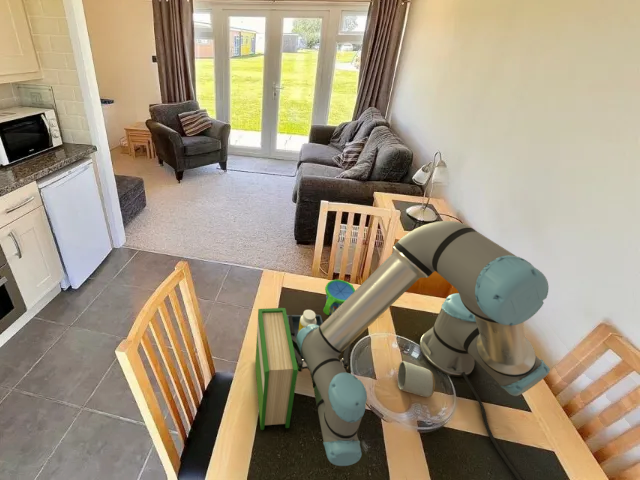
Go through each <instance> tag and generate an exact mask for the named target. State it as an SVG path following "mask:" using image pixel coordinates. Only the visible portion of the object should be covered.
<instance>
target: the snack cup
mask: <svg viewBox="0 0 640 480" xmlns="http://www.w3.org/2000/svg"><path fill="white" fill-rule="evenodd" d="M324 290H325V294H326V296H325V298H326V299H325V301H326V302H325V305H324V307H323V309H322V312H323V313H324V314H325V315H326V316H331V315H332V314H333V313H334V312H335V311H336V310H337V309H338V308H339V307H340V306H341V305H342V304H343V303H344V302H345V301H346V300H347V299H348V298H349V297H350V296H351V295H352V294H353V293H354V292H355V290H356V289H355V287H354V285H353V284H352V283H350V282H348V281H345V280H342V279H332V280H330V281H328V282H327V283H326V286H325V287H324Z"/></svg>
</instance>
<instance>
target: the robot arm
mask: <svg viewBox="0 0 640 480" xmlns="http://www.w3.org/2000/svg"><path fill="white" fill-rule="evenodd" d="M391 247H392V253H391V254H390V255H389V256H388V257H387V258H386V259H385V260H384V261H383V262H382V263H380V265H379V266H378V267H377V268H376V269H375V270H374V271H373V272H372V273H371V274H370V275H369V276H368V277H367V278H366V279H365V281H364V282H362V283H361V284H360V285H359V286H358V287H357V288H356V289H355V292H354V293H353V294H352V295H351V296H350V297H349V298H348V299H347V300H346V301H345V302H344V303H343V304H342V305H341V306H340V307H339V308H338V309H337V310H336V311H335V312H334V313H333V314H332V315H331V314H330V315H329V316H328V317H327V318H326V319H325V320H324V321H323V324H322V325H320V326H318V325H316V324H311V325H307V327H305V328H302V329H301V330H300V331H299V332H298V334H297V337H296V338H295V337H294V336H295V332H294V326H293V320H292V315H293V314H288V315H289V328H290V333H291V338H292V343H293V348H294V353H295V358H296V362H297V367H298V372H299V373H301V372H302V371H303V370H307V369H308V371H309V374H310V380H311V384H312V387H313V394H314V399H315V404H316V407H317V408H316V409H317V413H318V419H319V425H320V430H321V435H322V440H323V442H322V445H323V447H324V450H325V454H326V457H327V460H328V461H329V463H330V464H332V465H334V466H338V467H348V466H352V465H353V464H354V465H355V464H356V463H358V462H359V461H360V460H361V458H362V455H363V453H362V449H361V441H360V440H359V437H358V432H359V429H360V424H361V422H362V419H363V416H364V414H365V411H366V406H367V400H368V393H367V389H366V387H365V385H364V383H363V381H361V380H360V379H359V378H358V377H357V376H355V374H352V373H351V372H347V371H348V369H349V366H350V361H349V353H350V349H351V344H352V343H354V341H355V340H356V339H358V338H359V337H360V336H361V335H362V334H363V333H364V332H365V331H366V330H367V329H368V328H369V327H370V326H371V325H372V324H373V323H374V322H376V320H377V319H379V318H380V316H381V315H383V314H384V313H385V312H386V311H387V310H388V309H389V308H390V307H391V306H392V305H393V304H394V303H395V302H397V301H398V300H399V298H401V297H402V296H403V295H404V294H405V293H406V292H407V291H408V290H409V289H410V288H411V287H412V286H413V285H414V284H415V283H416V282H417V281H418V280H419V279H421V278H423V279H424V278H425V279H426V278H427V279H428V278H429V277H430V276H431V275H433V273H437V274H438V275H439V276H440V277H442V278H443V279H444V280H445V281H446V282H448V283H449V285H450V286H452V287H454V288H455V290H456V291H457V292H456V293H455V292H454V293H451V294H449V295H448V296H446V298H445V300H444V302H442V304H441V308H440V310H439V313H438V315H437V317H436V320H435V322H434V325H433V326H432V327H431V328H430V329H429V330H427V331H426V332H425V333H423V335H422V336H421V338H420V341H419V349H420V353H421V355H422V356H423V358H424V359H425V361H426V362H427V363H428V364H429V365H430V366H431V367H433V368H434V369H435V370H437V371H438V372H440V373H442V374H443V375H446V376H448V377H451V378H452V377H453V378H463V379H464V380H465V382H466V384H467V385H468V387H469V389H470V390H471V392H472V393H473V396H474V397H475V399H476V401H477V403H478V405H479V408H480V411H481V416H482V420H483V423H484V428H485V430H486V432H487V435H488V437H489V439H490V440H491V443H492V444H493V447H494V448H495V449H496V451H497V452H498V455H500V457H501V458H502V460H503V461H504V463H505V464H506V466H507V468H508V469H509V471H510V472H511V473H512V475H513V476H514V477H515V478H516V480H523V479H522V477H521V476H520V473H518V472H517V470H516V469H515V467H514V466H513V464H512V463H511V462H510V461H509V459H508V457H507V456H506V455H505V453H504V452H503V450H502V449H501V447H500V446H499V443H498V442H497V440H496V438H495V437H494V435H493V432H492V430H491V428H490V425H489V422H488V416H487V412H486V409H485V406H484V404H483V402H482V399H481V398H480V396H479V394H478V392H477V390H476V389H475V388H474V386H473V384H472V382H471V381H470V379H469V377H468V376H469V375H471V373H472V372H473V370H474V368H475V364H476V363H477V364H478V365H479V366H481V368H482V369H484V371H485V372H486V373H487V374H488V375H489V376H490V377H491V378H492V379H493V380H494V381H495V382H496V383H498V385H499V387H500V388H501V389H503V390H504V391H506V393H508V394H509V395H510V396H513V397H518V396H520V395H523V394H524V393H526V392H527V391H529V390H530V389H532V388H533V387H534V386H536V385H538V384H539V383H540V382H541V381H542V380H544V379H545V378H546V377H547V376H548V375H549V374H550V372H551V368H550V367H549V366H548V365H547V364H546V363H545V361H544V360H543V359H542V358H539V357H538V356H537V354H536V350H535V348H534V347H533V344H532V342H531V341H530V340H529V339H528V338H527V336H526V331H525V324H524V323H525V322H526V321H528V320H529V319H531V318H532V317H533V316H535V314H537V313H538V312H539V311H540V310H541V308H542V307H543V305H544V304H545V303H544V301H545V300H546V299H547V297H548V295H549V286H550V285H549V282H548V279H547V277H546V276H545V274H544V273H543V272H542V271H540V269H538V268H536V267H535V266H534V265H533V264H532V263H531V262H530V261H528V260H527V259H524V258H523V257H520V256H517V255H515V254H514V253H512V252H511V251H509V250H508V249H506V248H504V247H503V246H501V245H500V244H498V243H496V242H494V241H493V240H491V239H490V238H488V237H486V235H483V234H482V233H480V232H479V231H477V230H476V229H475V228H473V227H471V226H470V225H468V224H465V223H463V222H459V221H456V220H455V221H454V220H439V221H434V222H429V223H427V224H424V225H421V226H418V227H417V228H414V229H413V230H410V231H409V232H407V233H406V234H404V235H403V236H402V237H401V238H399V240H397V241H396V242H395V243H394V245H392V246H391ZM295 349H296V350H297V351H299V352H297V351H296V350H295ZM299 353H300V354H299ZM342 353H343V356H342V358H341V359H340V358H339V357H340V355H341V354H342ZM475 362H476V363H475Z"/></svg>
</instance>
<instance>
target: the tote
mask: <svg viewBox="0 0 640 480" xmlns="http://www.w3.org/2000/svg"><path fill="white" fill-rule="evenodd" d="M289 315H290V314H287V318H288V323H289ZM291 315H292V320H293V326H294V332H295V336H294V337H295V338H296V337H297V334H298V329H299V323H300V318H301V316H302V315H303V314H291ZM315 315H316V317H315V318H316V321H317V323H316V325H318V326H320V325H322V324H323V323H324V321H323V317H322V315H321V314H315ZM295 350H296V349H295ZM296 351H297V350H296ZM297 352H298V353H300V352H299V351H297Z"/></svg>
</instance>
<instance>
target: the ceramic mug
mask: <svg viewBox="0 0 640 480" xmlns="http://www.w3.org/2000/svg"><path fill="white" fill-rule="evenodd" d="M435 380H436V379H435V375H434V374H433V372H432V371H431V370H430V369H428V368H426V367H423V366H420V365H416V364H413V363H412V362H409V361H405V360H401V361H400V363H399V366H398V369H397V386H398V388H399V390H400V391H403V392H407V393H410V394H413V395H418V396H421V397H423V398H430V397H432V396H433V395H434V393H435V389H436V381H435Z"/></svg>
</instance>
